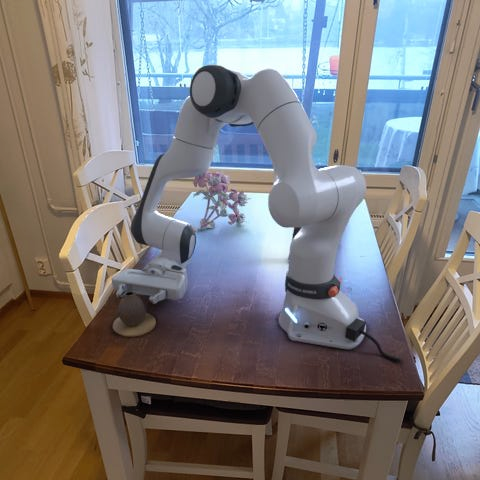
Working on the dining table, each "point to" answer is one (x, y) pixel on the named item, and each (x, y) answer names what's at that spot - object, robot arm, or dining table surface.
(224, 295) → the dining table surface
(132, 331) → the cork trivet
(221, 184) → the flower
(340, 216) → the robot arm
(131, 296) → the vase
